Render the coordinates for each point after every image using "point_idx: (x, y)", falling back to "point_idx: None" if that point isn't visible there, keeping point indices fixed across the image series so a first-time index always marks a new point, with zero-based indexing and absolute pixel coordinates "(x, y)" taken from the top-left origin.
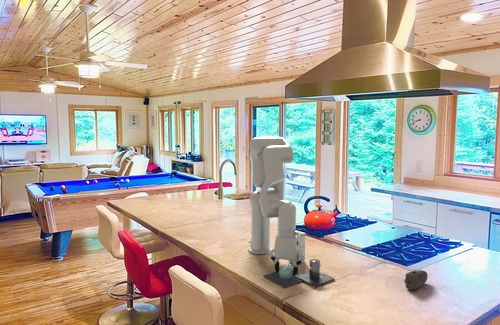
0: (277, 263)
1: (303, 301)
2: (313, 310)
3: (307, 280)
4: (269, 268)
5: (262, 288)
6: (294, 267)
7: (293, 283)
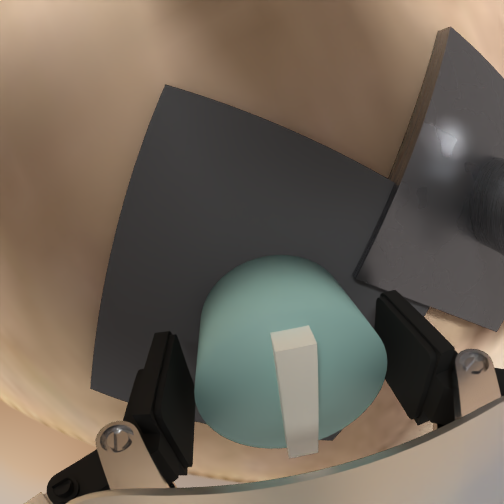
0: (176, 457)
1: None
2: None
3: (465, 299)
4: (12, 193)
5: (212, 478)
6: (425, 416)
7: None
